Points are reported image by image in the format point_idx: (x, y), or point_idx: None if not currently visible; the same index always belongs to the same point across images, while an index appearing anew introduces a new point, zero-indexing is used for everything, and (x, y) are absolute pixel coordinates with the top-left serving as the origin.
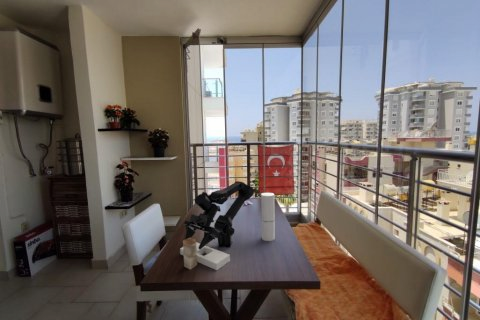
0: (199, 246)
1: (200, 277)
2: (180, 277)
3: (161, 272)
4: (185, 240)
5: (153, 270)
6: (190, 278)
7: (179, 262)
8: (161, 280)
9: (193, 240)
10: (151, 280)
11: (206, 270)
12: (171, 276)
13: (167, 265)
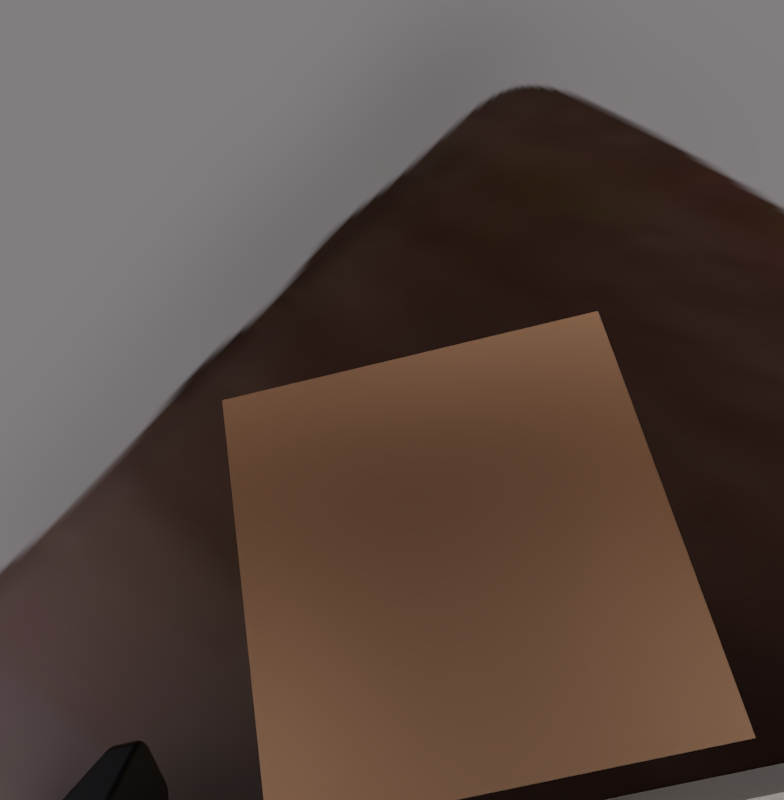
0: (90, 789)
1: (104, 582)
2: (316, 377)
3: (605, 238)
4: (553, 402)
5: (726, 178)
6: (196, 466)
7: (717, 538)
8: (431, 193)
9: (286, 679)
10: (513, 116)
11: (164, 768)
12: (423, 302)
13: (743, 355)
